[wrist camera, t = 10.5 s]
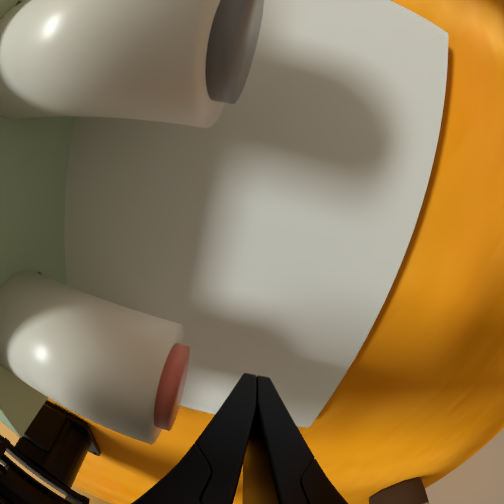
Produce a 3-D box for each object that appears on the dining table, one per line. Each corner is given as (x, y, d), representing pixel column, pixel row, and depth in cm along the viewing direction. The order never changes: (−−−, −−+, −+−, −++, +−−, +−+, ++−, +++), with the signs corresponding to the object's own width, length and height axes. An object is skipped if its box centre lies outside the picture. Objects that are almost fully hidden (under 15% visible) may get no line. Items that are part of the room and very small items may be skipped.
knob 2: (-11, 293, 9) (-54, 328, 6) (-22, 225, 8) (-76, 252, 4) (188, 383, 10) (163, 466, 6) (200, 302, 8) (162, 399, 5)
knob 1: (-18, 125, 6) (-80, 133, 2) (2, 47, 5) (-55, 39, 1) (235, 138, 7) (199, 117, 3) (269, 15, 5) (270, -76, 2)
